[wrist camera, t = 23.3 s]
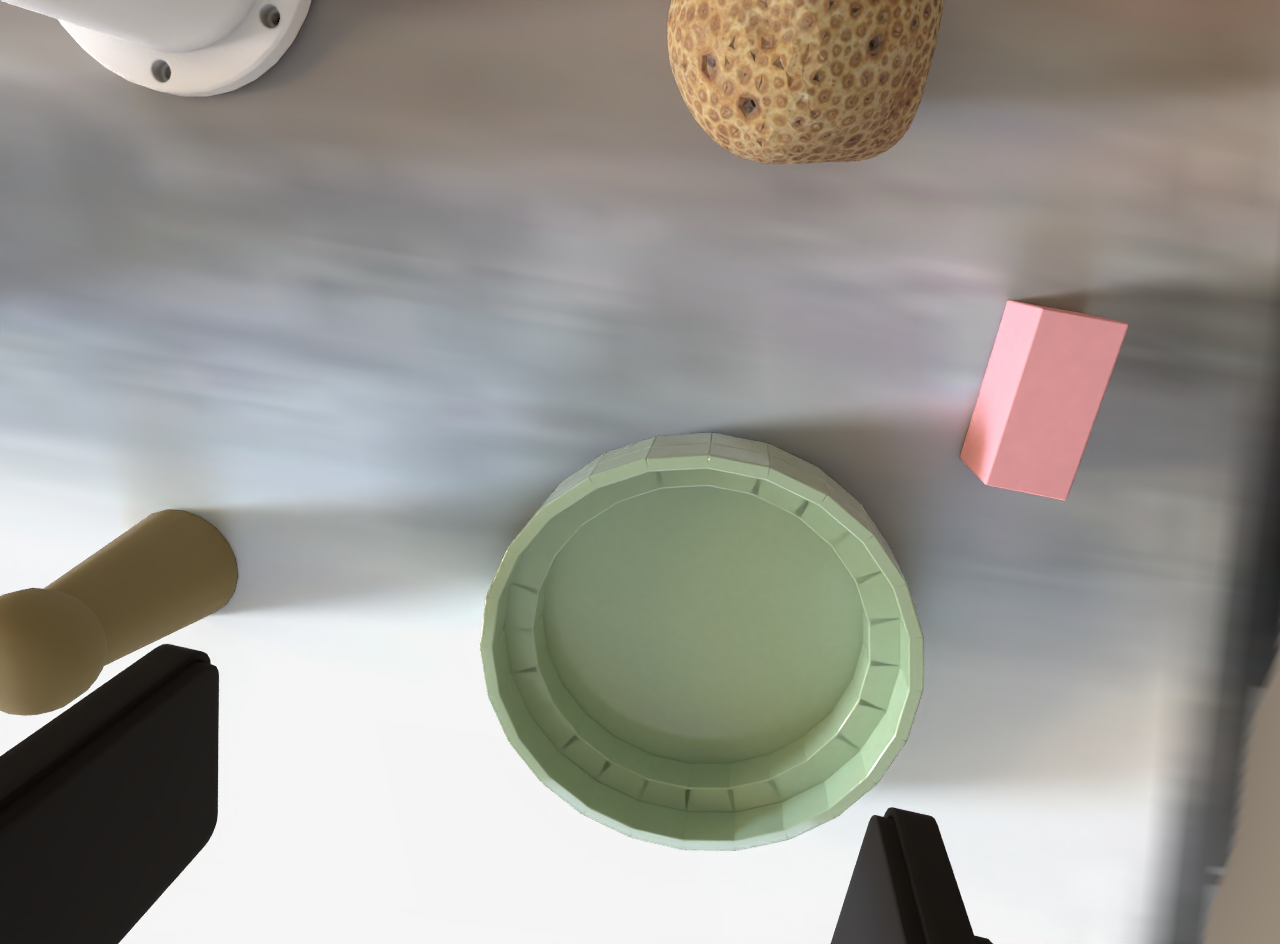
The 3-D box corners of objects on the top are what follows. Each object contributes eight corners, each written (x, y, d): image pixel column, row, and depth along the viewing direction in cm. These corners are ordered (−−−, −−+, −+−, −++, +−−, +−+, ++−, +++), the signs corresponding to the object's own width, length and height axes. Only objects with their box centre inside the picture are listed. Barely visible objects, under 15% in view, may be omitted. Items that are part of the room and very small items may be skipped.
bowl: (535, 394, 37) (507, 414, 32) (953, 475, 35) (982, 508, 31) (489, 741, 42) (461, 798, 38) (847, 823, 41) (859, 891, 37)
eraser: (1007, 299, 33) (1041, 307, 29) (1085, 313, 33) (1130, 323, 29) (958, 458, 35) (984, 485, 31) (1031, 472, 35) (1067, 501, 31)
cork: (239, 523, 40) (63, 623, 30) (236, 627, 42) (68, 755, 32) (129, 498, 41) (-83, 588, 30) (130, 602, 43) (-69, 720, 32)
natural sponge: (712, -95, 30) (697, -248, 21) (943, -49, 30) (1037, -185, 20) (661, 155, 33) (628, 121, 23) (872, 201, 32) (925, 185, 23)
